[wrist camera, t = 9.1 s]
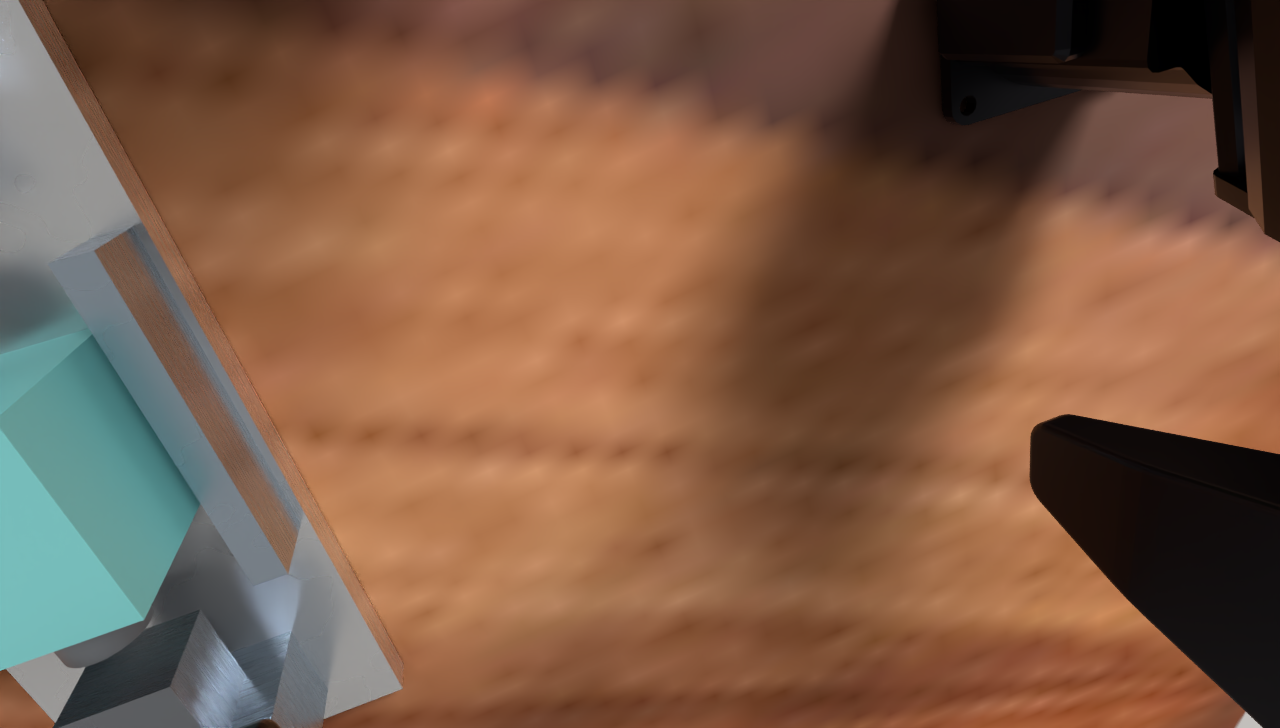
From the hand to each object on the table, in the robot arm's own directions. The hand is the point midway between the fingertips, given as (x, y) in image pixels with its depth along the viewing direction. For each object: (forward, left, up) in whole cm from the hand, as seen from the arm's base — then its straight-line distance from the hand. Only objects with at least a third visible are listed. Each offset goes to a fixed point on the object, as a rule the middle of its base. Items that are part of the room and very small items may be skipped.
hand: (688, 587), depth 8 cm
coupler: (+11, 0, -11) cm, 16 cm away
